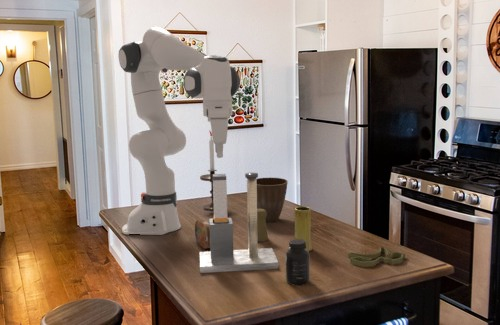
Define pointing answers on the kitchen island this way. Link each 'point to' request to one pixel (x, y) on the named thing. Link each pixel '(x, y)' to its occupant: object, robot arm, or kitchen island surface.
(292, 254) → the supplement bottle
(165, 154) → the robot arm
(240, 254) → the stand
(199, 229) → the tin
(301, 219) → the vase
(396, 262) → the cookie cutter
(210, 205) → the candlestick
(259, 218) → the olive waisted cylinder
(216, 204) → the column
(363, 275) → the kitchen island surface
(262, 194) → the plant pot
